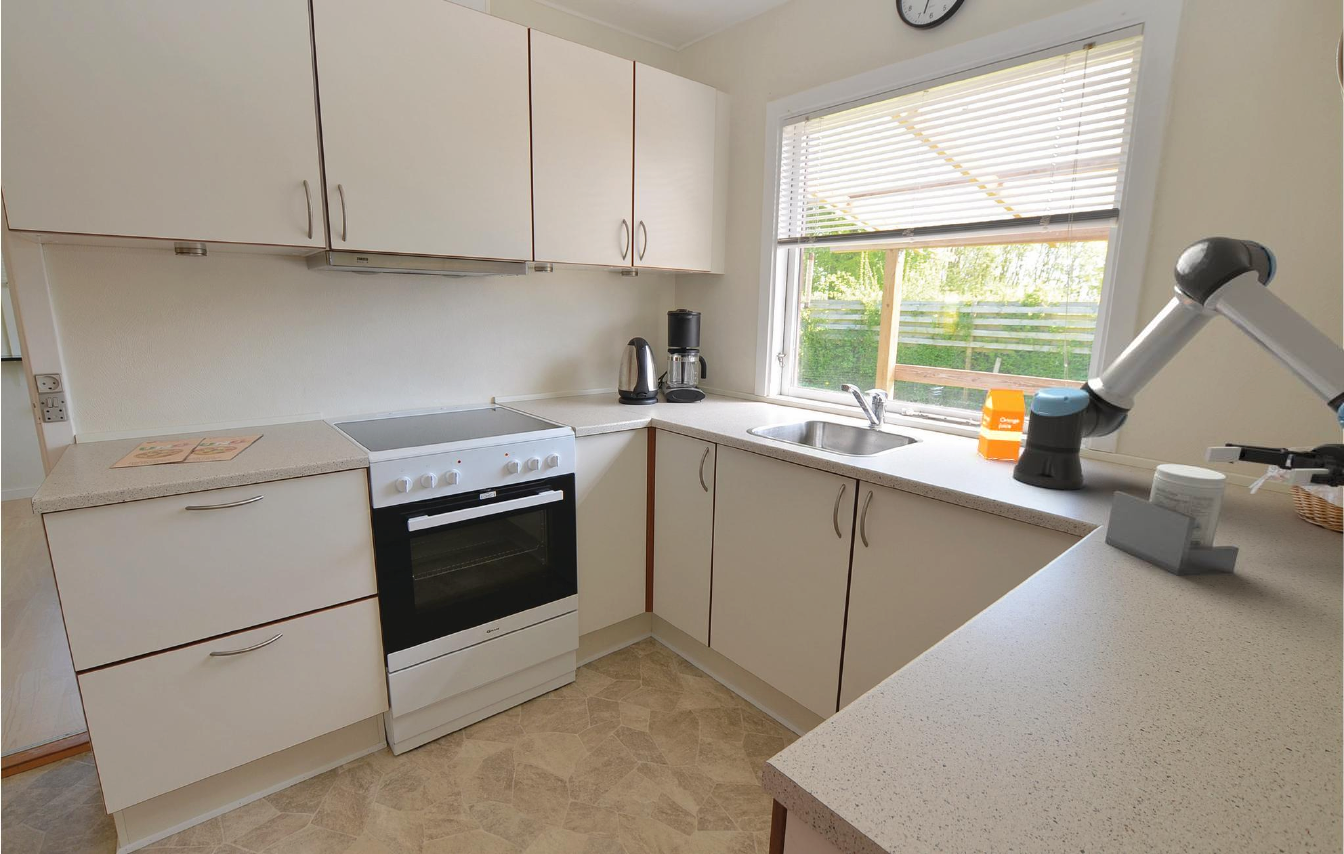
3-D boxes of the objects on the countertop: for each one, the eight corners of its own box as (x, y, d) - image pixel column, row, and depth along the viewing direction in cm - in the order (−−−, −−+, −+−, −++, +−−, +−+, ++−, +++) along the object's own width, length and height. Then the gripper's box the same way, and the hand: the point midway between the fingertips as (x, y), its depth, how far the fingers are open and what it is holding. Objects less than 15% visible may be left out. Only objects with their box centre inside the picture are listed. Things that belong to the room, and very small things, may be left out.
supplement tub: (1158, 536, 113) (1174, 461, 110) (1221, 556, 104) (1239, 475, 101) (1129, 544, 109) (1144, 466, 106) (1191, 565, 100) (1210, 481, 97)
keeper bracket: (1105, 542, 113) (1114, 491, 111) (1155, 540, 114) (1165, 490, 112) (1177, 575, 99) (1189, 518, 97) (1233, 572, 101) (1246, 516, 99)
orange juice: (1018, 461, 172) (1028, 392, 168) (985, 459, 173) (994, 390, 169) (1008, 454, 179) (1017, 388, 175) (976, 452, 181) (985, 387, 177)
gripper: (1434, 509, 97) (1326, 511, 93) (1264, 464, 121) (1174, 464, 117) (1450, 464, 95) (1340, 465, 92) (1274, 428, 119) (1183, 427, 116)
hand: (1247, 465), depth 105 cm, fingers open, 13 cm apart
